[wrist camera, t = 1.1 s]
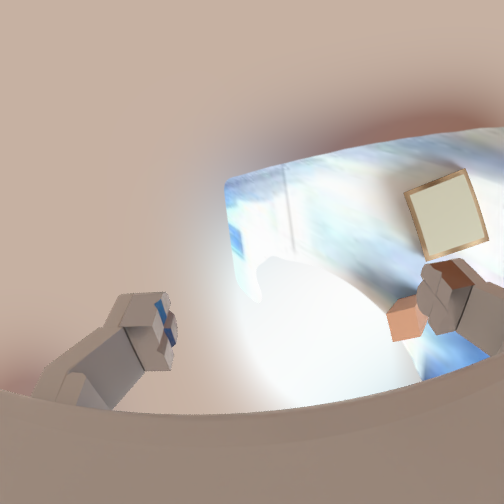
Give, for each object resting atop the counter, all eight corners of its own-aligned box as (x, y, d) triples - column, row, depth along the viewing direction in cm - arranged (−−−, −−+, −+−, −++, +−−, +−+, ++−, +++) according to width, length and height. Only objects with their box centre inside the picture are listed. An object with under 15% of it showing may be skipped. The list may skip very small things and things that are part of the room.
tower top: (463, 176, 35) (463, 173, 32) (483, 235, 34) (484, 237, 32) (412, 196, 41) (409, 195, 38) (431, 253, 40) (429, 255, 37)
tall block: (422, 292, 43) (414, 307, 37) (428, 318, 43) (420, 336, 37) (398, 299, 46) (386, 313, 40) (404, 323, 46) (392, 341, 40)
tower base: (465, 170, 37) (465, 168, 34) (487, 238, 36) (489, 240, 33) (406, 193, 44) (403, 192, 41) (428, 258, 43) (426, 261, 40)
